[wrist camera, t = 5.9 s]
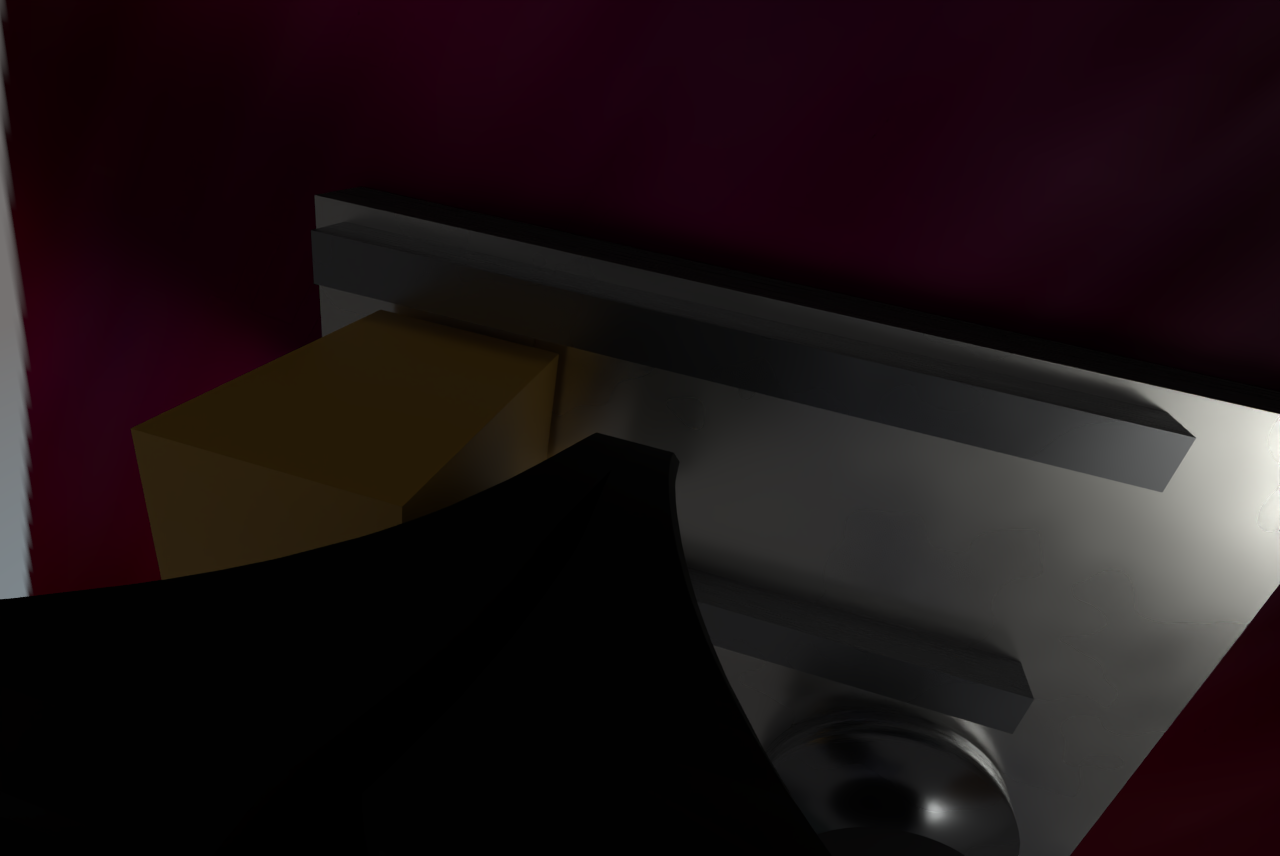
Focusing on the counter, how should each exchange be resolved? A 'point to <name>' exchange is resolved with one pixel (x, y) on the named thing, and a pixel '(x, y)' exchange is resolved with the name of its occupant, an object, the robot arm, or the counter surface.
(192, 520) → the slider knob
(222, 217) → the counter surface
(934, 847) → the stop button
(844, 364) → the panel
